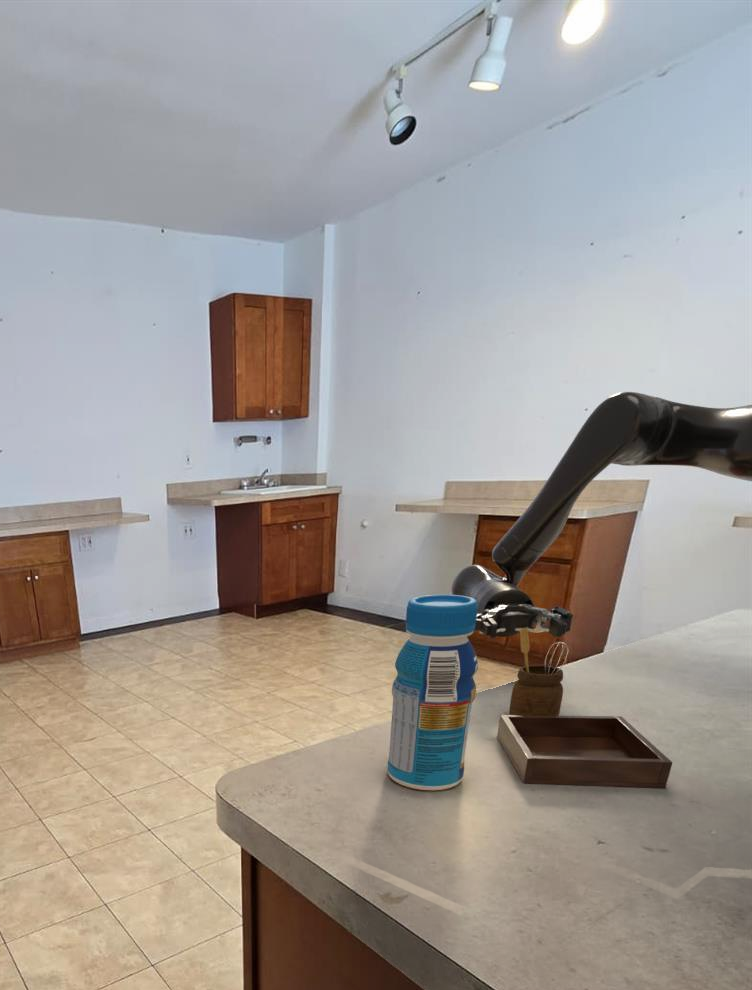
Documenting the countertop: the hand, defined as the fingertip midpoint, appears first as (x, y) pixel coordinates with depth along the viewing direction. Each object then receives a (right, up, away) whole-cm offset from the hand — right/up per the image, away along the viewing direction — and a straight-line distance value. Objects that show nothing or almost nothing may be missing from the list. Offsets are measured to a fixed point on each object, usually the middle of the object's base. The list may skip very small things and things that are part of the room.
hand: (527, 631), depth 90 cm
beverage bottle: (-21, -21, -17) cm, 34 cm away
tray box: (-3, -18, -16) cm, 25 cm away
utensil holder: (-2, -13, -4) cm, 14 cm away
